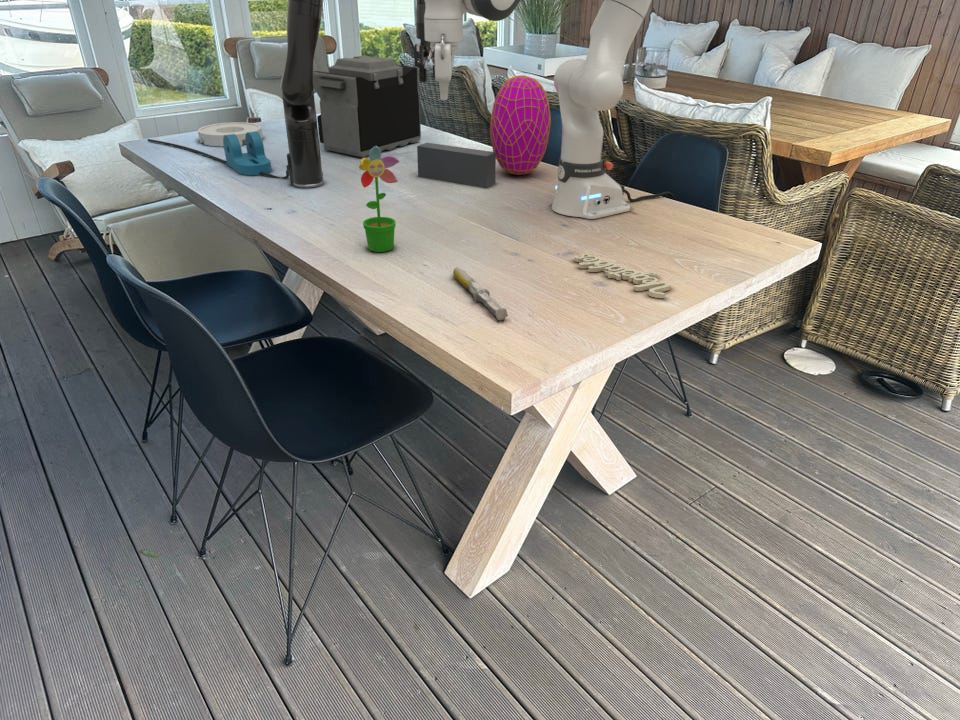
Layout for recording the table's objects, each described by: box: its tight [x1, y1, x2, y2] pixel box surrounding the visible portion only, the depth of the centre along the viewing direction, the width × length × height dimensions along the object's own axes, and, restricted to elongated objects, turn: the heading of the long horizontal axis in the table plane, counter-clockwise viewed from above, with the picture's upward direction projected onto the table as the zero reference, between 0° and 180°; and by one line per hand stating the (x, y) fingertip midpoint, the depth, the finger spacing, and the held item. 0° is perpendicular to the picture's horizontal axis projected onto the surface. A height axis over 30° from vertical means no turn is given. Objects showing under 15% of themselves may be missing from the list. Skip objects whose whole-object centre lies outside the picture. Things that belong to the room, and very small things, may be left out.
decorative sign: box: [574, 252, 671, 299], centre depth 155 cm, size 26×1×10 cm
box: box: [416, 142, 497, 189], centre depth 218 cm, size 25×6×10 cm, turn 62°
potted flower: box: [358, 146, 400, 253], centre depth 162 cm, size 9×8×25 cm
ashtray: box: [197, 121, 264, 147], centre depth 263 cm, size 23×23×4 cm
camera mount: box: [223, 131, 272, 176], centre depth 226 cm, size 18×10×10 cm, turn 35°
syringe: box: [452, 266, 509, 321], centre depth 145 cm, size 25×4×3 cm, turn 21°
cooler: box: [313, 55, 422, 159], centre depth 250 cm, size 37×22×30 cm, turn 144°
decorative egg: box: [489, 75, 552, 176], centre depth 220 cm, size 19×19×30 cm
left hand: (430, 79), depth 209 cm, fingers open, 8 cm apart
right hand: (444, 96), depth 165 cm, fingers open, 8 cm apart
